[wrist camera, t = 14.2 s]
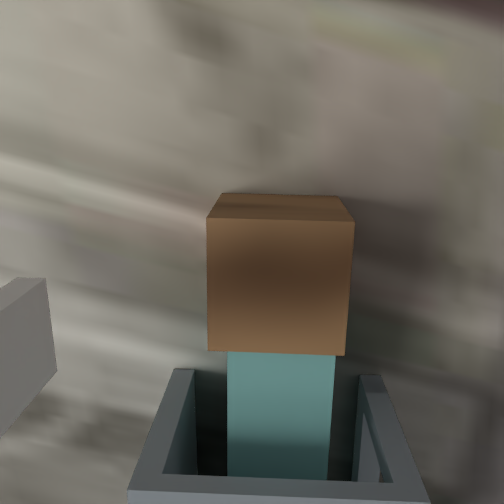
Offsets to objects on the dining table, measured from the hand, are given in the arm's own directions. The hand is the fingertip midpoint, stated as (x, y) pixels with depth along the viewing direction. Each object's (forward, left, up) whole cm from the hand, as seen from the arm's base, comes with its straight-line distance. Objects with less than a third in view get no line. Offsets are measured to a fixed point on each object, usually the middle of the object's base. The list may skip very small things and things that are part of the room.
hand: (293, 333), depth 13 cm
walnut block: (-1, 0, -9) cm, 9 cm away
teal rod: (-12, 0, -10) cm, 15 cm away
